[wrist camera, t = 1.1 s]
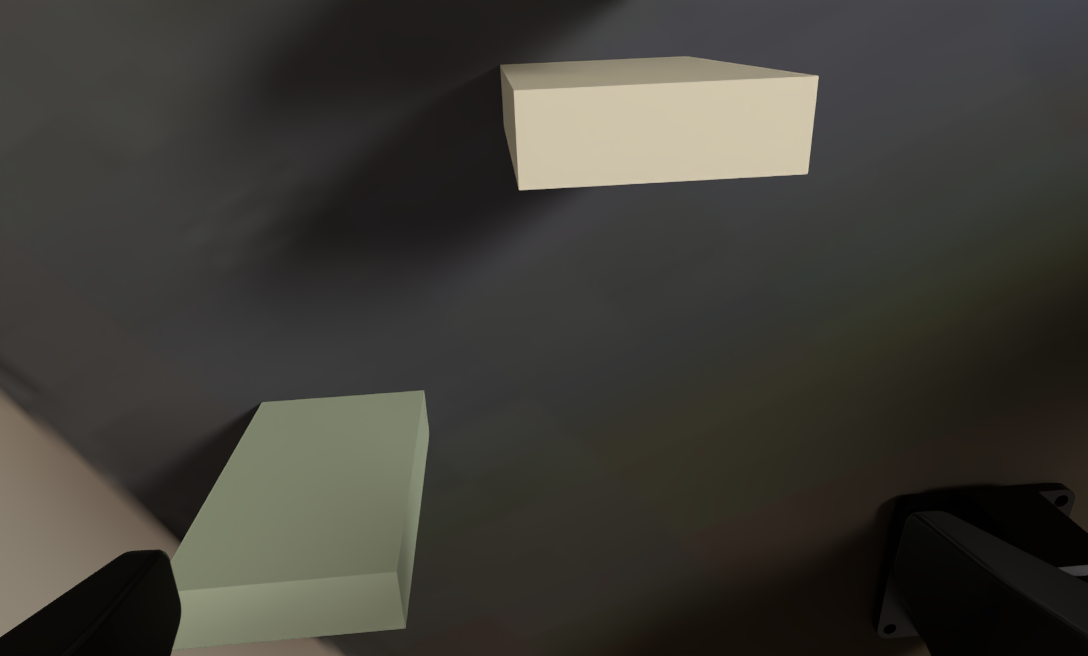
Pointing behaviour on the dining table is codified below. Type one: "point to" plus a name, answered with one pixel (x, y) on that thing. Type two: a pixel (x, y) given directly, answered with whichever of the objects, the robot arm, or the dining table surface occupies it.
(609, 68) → the tile
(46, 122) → the dining table surface
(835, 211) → the dining table surface
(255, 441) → the tile
